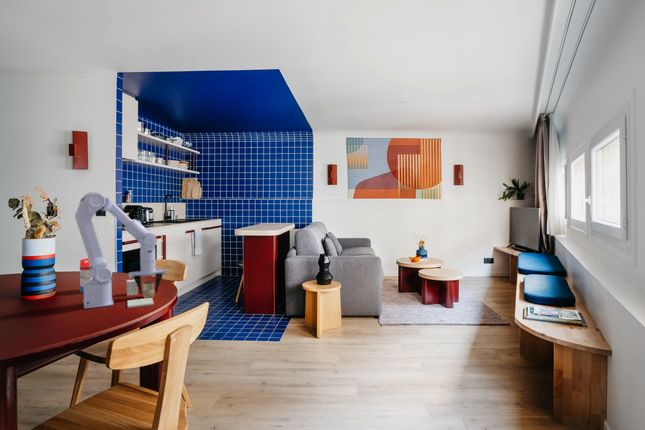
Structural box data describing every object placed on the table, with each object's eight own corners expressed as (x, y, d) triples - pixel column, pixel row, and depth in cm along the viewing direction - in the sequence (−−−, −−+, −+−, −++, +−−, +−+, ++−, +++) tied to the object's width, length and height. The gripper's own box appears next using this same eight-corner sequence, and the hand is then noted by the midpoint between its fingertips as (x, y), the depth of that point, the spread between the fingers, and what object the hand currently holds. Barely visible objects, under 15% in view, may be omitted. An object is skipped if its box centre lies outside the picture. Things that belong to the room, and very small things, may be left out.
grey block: (127, 295, 155) (126, 282, 155) (127, 293, 159) (126, 280, 159) (137, 294, 157) (137, 281, 157) (137, 292, 161) (137, 279, 161)
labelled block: (143, 298, 151) (143, 283, 151) (143, 296, 155) (142, 281, 155) (154, 297, 153) (153, 282, 153) (153, 295, 157) (153, 280, 156)
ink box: (90, 293, 160) (90, 260, 159) (80, 292, 160) (79, 260, 160) (103, 288, 169) (102, 257, 168) (92, 288, 169) (91, 257, 168)
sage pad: (127, 307, 138) (127, 306, 138) (127, 302, 146) (127, 300, 146) (153, 304, 142) (153, 303, 142) (152, 299, 150) (152, 297, 150)
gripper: (165, 258, 160) (166, 288, 161) (128, 260, 153) (129, 292, 154) (167, 260, 154) (167, 292, 155) (128, 263, 147) (129, 296, 148)
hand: (148, 292), depth 154 cm, fingers open, 5 cm apart
